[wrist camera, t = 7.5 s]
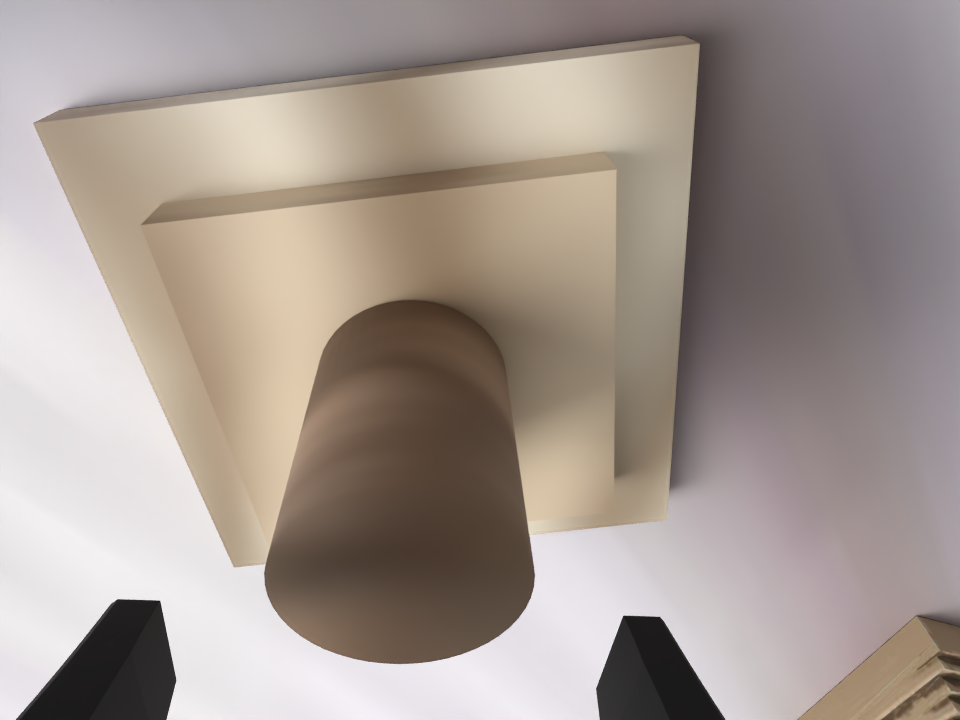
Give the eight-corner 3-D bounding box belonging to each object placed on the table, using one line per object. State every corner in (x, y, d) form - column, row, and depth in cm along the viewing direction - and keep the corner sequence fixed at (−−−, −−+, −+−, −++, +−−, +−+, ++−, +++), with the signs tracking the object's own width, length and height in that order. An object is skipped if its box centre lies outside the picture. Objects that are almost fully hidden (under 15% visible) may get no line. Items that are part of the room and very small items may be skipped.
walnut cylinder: (311, 441, 18) (260, 654, 13) (325, 285, 15) (269, 472, 10) (485, 463, 18) (501, 672, 13) (525, 317, 16) (566, 505, 11)
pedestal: (243, 538, 23) (223, 601, 21) (60, 110, 15) (-1, 140, 13) (657, 493, 23) (679, 551, 21) (682, 35, 15) (722, 53, 13)
